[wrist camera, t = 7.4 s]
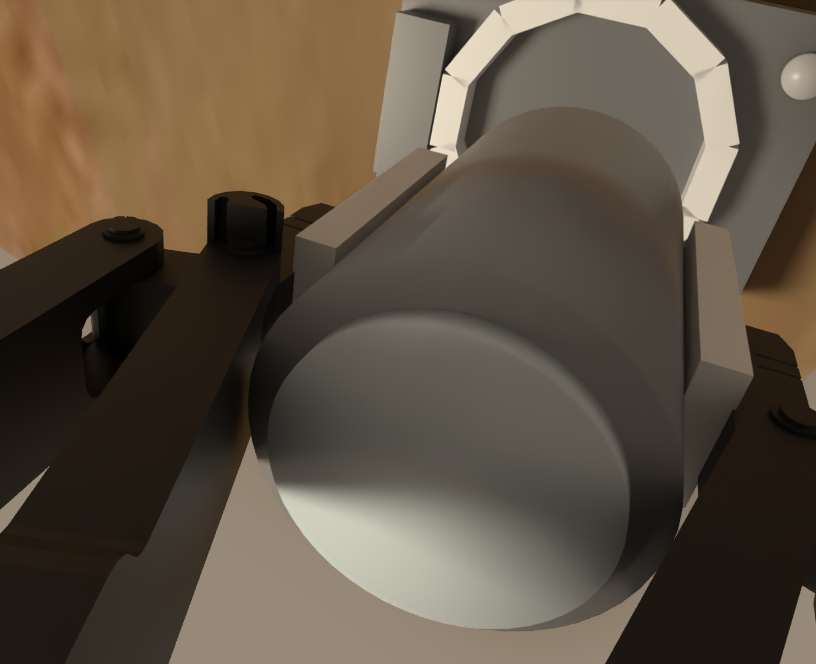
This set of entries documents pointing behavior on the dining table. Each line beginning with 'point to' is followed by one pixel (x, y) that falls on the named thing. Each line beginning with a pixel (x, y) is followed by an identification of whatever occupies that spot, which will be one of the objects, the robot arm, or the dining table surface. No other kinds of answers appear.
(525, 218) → the lens
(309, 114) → the dining table surface
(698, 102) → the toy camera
